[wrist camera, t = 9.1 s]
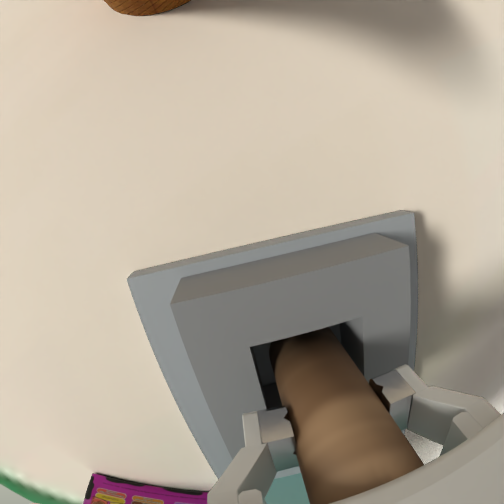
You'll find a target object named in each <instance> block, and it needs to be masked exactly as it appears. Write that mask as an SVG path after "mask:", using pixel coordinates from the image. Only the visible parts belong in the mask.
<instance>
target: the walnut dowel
mask: <svg viewBox="0 0 504 504" xmlns="http://www.w3.org/2000/svg"><path fill="white" fill-rule="evenodd" d="M269 358H270V362H271V365H272V369H273V373H274V377H275V380H276V384H277V388H278V391H279V395H280V399H281V402H282V406H283V405H285V406H286V409H287V413H288V417H289V421H290V423H291V427H292V430H293V434H294V438H295V442H296V450H295V453H296V456H297V460H298V464H299V467H300V471H301V474H302V478H303V481H304V485H305V488H306V492H307V495H308V499H309V502H310V504H330V503H333V502H336V501H339V500H342V499H345V498H348V497H351V496H354V495H357V494H360V493H363V492H365V491H368V490H370V489H373V488H376V487H378V486H380V485H383V484H385V483H388V482H390V481H392V480H394V479H397V478H399V477H401V476H403V475H405V474H407V473H409V472H411V471H413V470H415V469H417V468H419V467H421V466H423V465H424V464H423V462H422V461H421V459H420V458H419V456H418V455H417V453H416V452H415V450H414V449H413V447H412V446H411V444H410V443H409V441H408V440H407V439H406V437H405V436H404V434H403V433H402V431H401V430H400V428H399V427H398V425H397V424H396V422H395V421H394V419H393V418H392V416H391V415H390V414H389V412H388V411H387V409H386V408H385V406H384V405H383V403H382V402H381V400H380V399H379V397H378V396H377V395H376V393H375V392H374V390H373V389H372V387H371V386H370V385H369V383H368V382H367V380H366V379H365V377H364V376H363V374H362V373H361V372H360V370H359V369H358V367H357V366H356V364H355V363H354V362H353V360H352V359H351V357H350V356H349V354H348V353H347V352H346V350H345V349H344V347H343V346H342V345H341V343H340V342H339V340H338V339H337V338H336V336H335V335H334V333H333V332H332V330H331V329H330V328H329V327H326V328H322V329H319V330H315V331H312V332H308V333H304V334H300V335H297V336H293V337H289V338H285V339H281V340H277V341H273V342H271V344H270V348H269Z"/></svg>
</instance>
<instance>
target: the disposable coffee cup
mask: <svg viewBox="0 0 504 504" xmlns="http://www.w3.org/2000/svg"><path fill="white" fill-rule="evenodd" d="M104 1H105V2H106V3H107V4H108V5H109V6H110V7H111V8H112V9H113V10H115V11H117V12H119V13H121V14H127V15H134V16H143V15H153V14H157V13H161V12H165V11H168V10H171V9H174V8H177V7H179V6H181V5H183V4H185V3H187V2H189V1H190V0H104Z"/></svg>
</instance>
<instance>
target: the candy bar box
mask: <svg viewBox="0 0 504 504" xmlns="http://www.w3.org/2000/svg"><path fill="white" fill-rule="evenodd" d="M208 493H209V492H200V491H189V490H179V489H171V488H163V487H157V486H150V485H144V484H139V483H134V482H128V481H124V480H119V479H115V478H110V477H106V476H103V475H99V474H94V473H93V474H92V476H91V479H90V482H89V485H88V488H87V491H86V495H85V499H84V501H83V504H207V494H208Z"/></svg>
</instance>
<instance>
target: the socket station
mask: <svg viewBox="0 0 504 504" xmlns="http://www.w3.org/2000/svg"><path fill="white" fill-rule="evenodd" d="M127 282H128V285H129V288H130V291H131V294H132V297H133V299H134V302H135V305H136V308H137V311H138V313H139V316H140V319H141V322H142V324H143V327H144V329H145V332H146V335H147V337H148V340H149V342H150V345H151V347H152V350H153V352H154V354H155V357H156V359H157V361H158V364H159V366H160V368H161V371H162V373H163V375H164V377H165V380H166V382H167V384H168V386H169V388H170V391H171V393H172V395H173V397H174V399H175V401H176V403H177V405H178V407H179V409H180V411H181V413H182V415H183V417H184V419H185V421H186V423H187V425H188V427H189V429H190V431H191V433H192V434H193V436H194V438H195V440H196V442H197V444H198V445H199V447H200V449H201V451H202V453H203V454H204V456H205V458H206V460H207V461H208V463H209V465H210V466H211V468H212V470H213V471H214V473H215V475H216V476H217V478H218V479H219V478H220V477H221V476H222V474H223V473H224V471H225V470H226V469H227V467H228V466H229V465H230V463H231V462H232V460H233V459H234V458H235V456H236V455H237V453H238V452H239V451H240V449H241V448H244V447H245V439H244V429H243V419H242V416H243V414H244V413H250V412H256V411H259V410H264V409H269V408H274V407H279V406H282V402H281V399H280V395H279V391H278V388H277V384H276V380H275V377H274V373H273V369H272V365H271V362H270V358H269V348H270V344H271V342H273V341H277V340H281V339H285V338H289V337H293V336H297V335H300V334H304V333H308V332H312V331H315V330H319V329H322V328H326V327H329V328H330V329H331V330H332V332H333V333H334V335H335V336H336V338H337V339H338V340H339V342H340V343H341V345H342V346H343V347H344V349H345V350H346V352H347V353H348V354H349V356H350V357H351V359H352V360H353V362H354V363H355V364H356V366H357V367H358V369H359V370H360V372H361V373H362V374H363V376H364V377H365V379H366V380H367V382H368V383H369V380H370V379H371V378H374V377H376V376H379V375H381V374H384V373H386V372H389V371H391V370H394V369H396V368H398V367H400V366H403V365H405V364H406V365H408V366H409V367H410V368H411V369H412V370H413V371H414V366H415V355H416V341H417V321H418V264H417V244H416V230H415V219H414V213H413V212H408V211H403V210H400V211H395V212H391V213H386V214H382V215H377V216H373V217H368V218H363V219H359V220H354V221H350V222H346V223H341V224H337V225H332V226H328V227H323V228H319V229H314V230H310V231H305V232H301V233H297V234H292V235H288V236H283V237H279V238H275V239H270V240H266V241H262V242H257V243H253V244H249V245H244V246H240V247H236V248H231V249H227V250H223V251H218V252H214V253H210V254H205V255H201V256H197V257H193V258H188V259H184V260H180V261H176V262H171V263H167V264H163V265H159V266H154V267H150V268H146V269H142V270H138V271H134V272H133V273H132V274H131V275H130V276H129V277H128V278H127ZM402 433H403V434H404V433H405V429H404V430H402ZM265 501H266V503H267V504H310V502H309V499H308V495H307V492H306V488H305V485H304V481H303V478H302V474H301V471H300V467H299V466H297V467H294V468H290V469H286V470H282V471H278V472H277V474H276V476H275V478H274V480H273V482H272V484H271V486H270V489H269V491H268V493H267V495H266V497H265Z"/></svg>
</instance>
